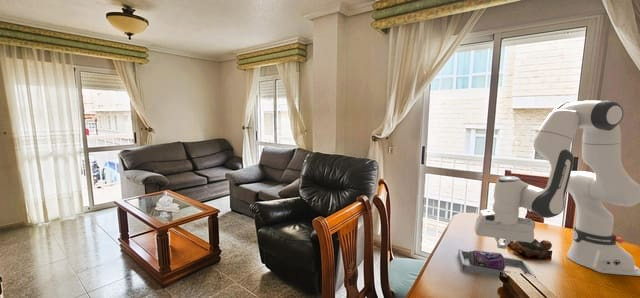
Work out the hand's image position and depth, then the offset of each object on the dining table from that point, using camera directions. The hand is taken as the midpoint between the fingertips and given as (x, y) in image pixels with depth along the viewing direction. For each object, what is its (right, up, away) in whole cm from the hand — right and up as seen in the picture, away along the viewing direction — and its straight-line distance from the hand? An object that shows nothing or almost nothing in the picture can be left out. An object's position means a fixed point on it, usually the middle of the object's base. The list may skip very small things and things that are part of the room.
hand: (501, 248), depth 111 cm
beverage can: (+1, -6, -1) cm, 6 cm away
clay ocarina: (+22, -8, +13) cm, 26 cm away
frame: (-2, -9, +2) cm, 10 cm away
